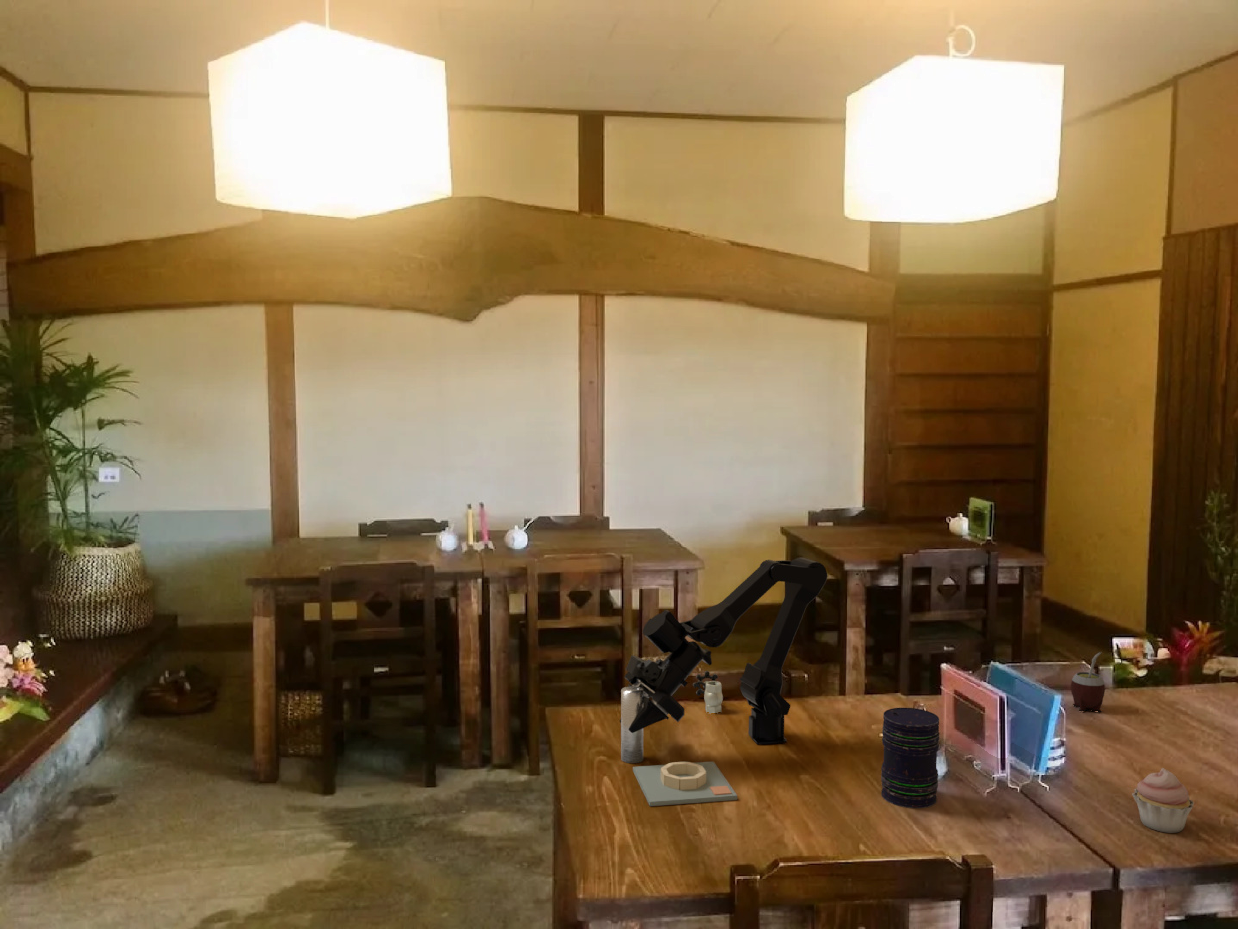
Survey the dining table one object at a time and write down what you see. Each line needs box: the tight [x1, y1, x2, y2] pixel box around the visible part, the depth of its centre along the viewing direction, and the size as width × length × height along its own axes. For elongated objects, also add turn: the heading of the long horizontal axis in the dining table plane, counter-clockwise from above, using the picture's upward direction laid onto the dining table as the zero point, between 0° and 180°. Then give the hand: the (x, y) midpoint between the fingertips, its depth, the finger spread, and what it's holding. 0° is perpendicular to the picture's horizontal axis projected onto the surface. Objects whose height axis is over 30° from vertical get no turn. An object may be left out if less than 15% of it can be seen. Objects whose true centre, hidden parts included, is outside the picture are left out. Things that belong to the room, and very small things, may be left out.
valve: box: [692, 670, 724, 714], centre depth 230 cm, size 7×7×12 cm
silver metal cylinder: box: [620, 686, 644, 764], centre depth 197 cm, size 4×4×14 cm
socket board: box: [632, 761, 738, 807], centre depth 185 cm, size 16×16×3 cm
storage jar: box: [880, 707, 940, 809], centre depth 180 cm, size 10×10×15 cm
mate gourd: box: [1070, 651, 1106, 713], centre depth 227 cm, size 8×8×15 cm
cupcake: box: [1131, 767, 1195, 834], centre depth 169 cm, size 9×9×10 cm
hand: (625, 727), depth 197 cm, fingers closed on silver metal cylinder, 4 cm apart
